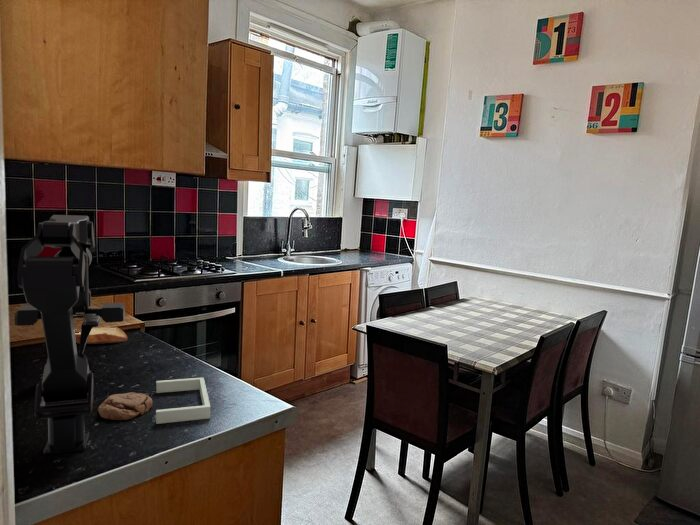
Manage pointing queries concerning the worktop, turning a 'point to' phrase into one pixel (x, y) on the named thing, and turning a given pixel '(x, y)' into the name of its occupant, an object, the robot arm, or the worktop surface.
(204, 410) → the box
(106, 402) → the cookie
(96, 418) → the worktop surface
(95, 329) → the slice of bread
